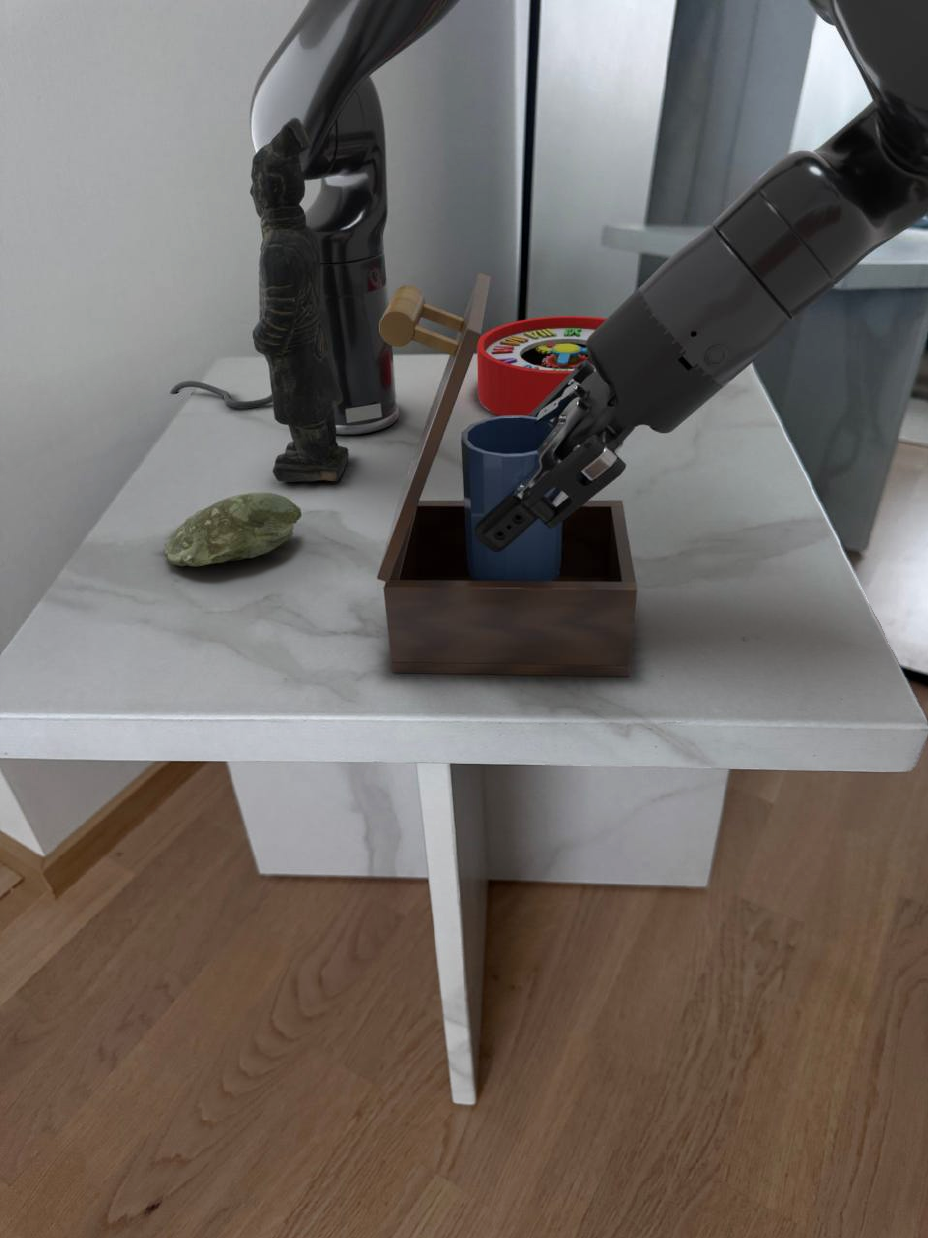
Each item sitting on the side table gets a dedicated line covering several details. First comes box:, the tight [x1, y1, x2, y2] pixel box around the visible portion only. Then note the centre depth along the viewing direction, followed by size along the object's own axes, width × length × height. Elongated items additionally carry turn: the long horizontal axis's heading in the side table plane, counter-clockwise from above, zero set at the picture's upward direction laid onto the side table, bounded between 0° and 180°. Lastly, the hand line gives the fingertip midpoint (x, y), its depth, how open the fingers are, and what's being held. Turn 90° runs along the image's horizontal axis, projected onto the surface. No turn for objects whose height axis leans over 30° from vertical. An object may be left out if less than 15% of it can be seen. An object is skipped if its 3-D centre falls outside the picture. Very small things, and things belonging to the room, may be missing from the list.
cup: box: [460, 415, 564, 581], centre depth 57 cm, size 6×6×10 cm
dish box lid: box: [376, 272, 492, 583], centre depth 54 cm, size 17×12×5 cm
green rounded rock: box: [164, 491, 302, 567], centre depth 72 cm, size 10×7×10 cm
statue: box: [249, 117, 350, 483], centre depth 76 cm, size 10×7×30 cm
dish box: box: [382, 500, 638, 677], centre depth 60 cm, size 16×12×7 cm
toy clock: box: [476, 315, 607, 418], centre depth 97 cm, size 20×6×20 cm
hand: (488, 514), depth 57 cm, fingers closed on cup, 6 cm apart
